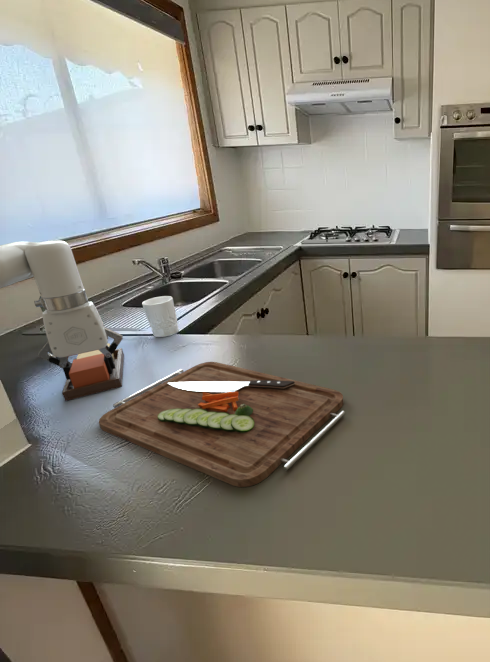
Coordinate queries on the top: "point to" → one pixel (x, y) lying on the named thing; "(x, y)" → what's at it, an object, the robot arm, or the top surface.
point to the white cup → (161, 315)
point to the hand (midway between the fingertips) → (92, 375)
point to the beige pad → (92, 353)
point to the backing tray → (112, 383)
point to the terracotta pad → (88, 371)
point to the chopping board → (225, 420)
